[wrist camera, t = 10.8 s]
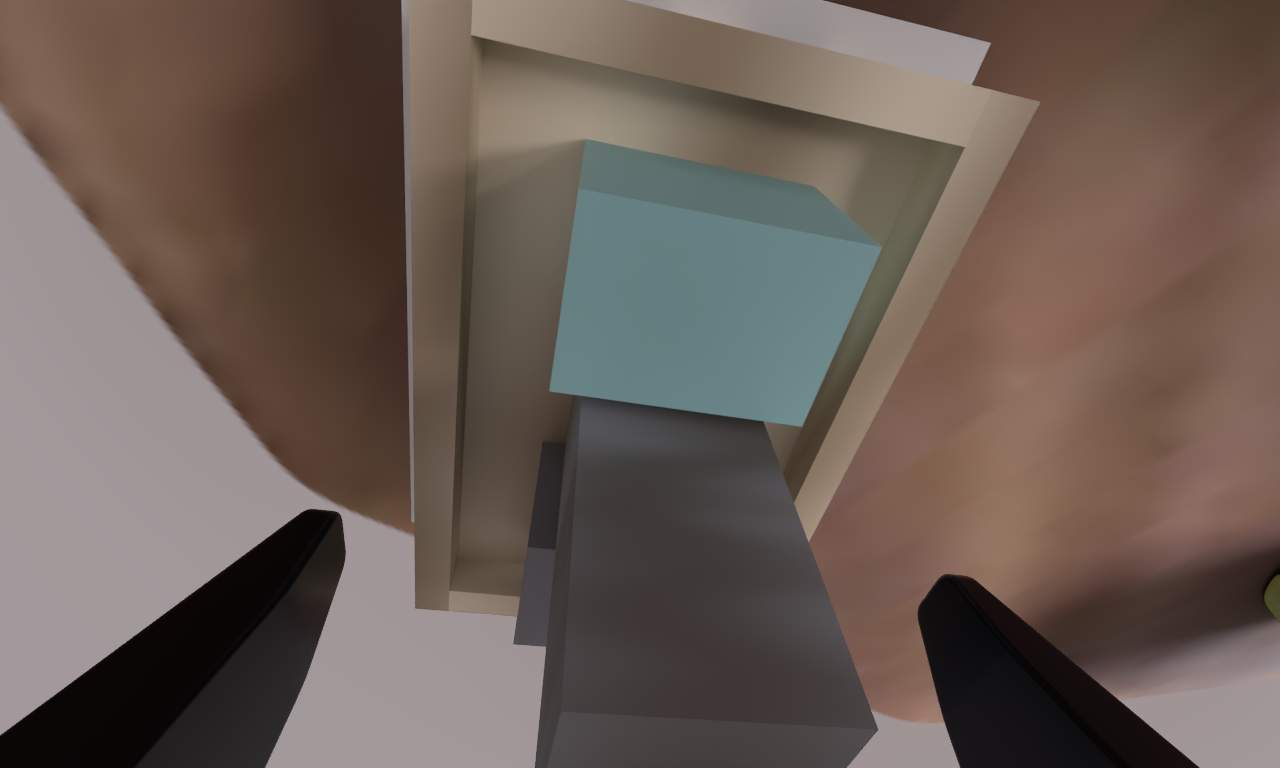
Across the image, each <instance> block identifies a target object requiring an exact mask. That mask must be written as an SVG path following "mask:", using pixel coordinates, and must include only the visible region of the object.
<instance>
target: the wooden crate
mask: <svg viewBox="0 0 1280 768" xmlns="http://www.w3.org/2000/svg"><path fill="white" fill-rule="evenodd" d="M409 63H410V155H411V248H412V340H413V433H414V525H415V608H417V609H430V610H442V611H454V612H468V613H479V614H491V615H503V616H516V617H517V615H518V608H519V601H520V594H521V587H522V580H523V573H524V567H525V560H526V553H527V546H528V539H529V532H530V525H531V518H532V511H533V505H534V498H535V491H536V484H537V477H538V470H539V464H540V457H541V450H542V443H543V441H544V442H552V443H560V444H565V454H564V465H563V475H562V486H561V497H560V507H559V518H558V528H557V539H556V550H555V560H554V571H553V582H552V592H551V603H550V614H549V624H548V635H547V645H546V656H545V667H544V677H543V689H542V699H541V710H540V720H539V731H538V742H537V752H536V762H535V768H847V766H848V765H849V764H850V763H851V762H852V760H853V759H854V758H855V757H856V756H857V754H858V753H859V752H860V751H861V750H862V749H863V747H864V746H865V745H866V744H867V743H868V741H869V740H870V739H871V738H872V737H873V735H874V734H875V733H876V732H877V731H878V728H877V725H876V723H875V720H874V717H873V714H872V712H871V709H870V706H869V704H868V701H867V698H866V695H865V693H864V690H863V687H862V685H861V682H860V679H859V677H858V674H857V671H856V669H855V666H854V663H853V661H852V658H851V655H850V652H849V650H848V647H847V644H846V642H845V639H844V636H843V634H842V631H841V628H840V626H839V623H838V620H837V617H836V615H835V612H834V609H833V607H832V604H831V601H830V599H829V596H828V593H827V591H826V588H825V585H824V583H823V580H822V577H821V574H820V572H819V569H818V566H817V564H816V561H815V558H814V556H813V553H812V550H811V548H810V545H809V541H810V539H811V537H812V535H813V533H814V531H815V529H816V527H817V525H818V524H819V522H820V520H821V518H822V516H823V514H824V512H825V510H826V508H827V506H828V505H829V503H830V501H831V499H832V497H833V495H834V493H835V491H836V489H837V487H838V486H839V484H840V482H841V480H842V478H843V476H844V474H845V472H846V470H847V468H848V467H849V465H850V463H851V461H852V459H853V457H854V455H855V453H856V451H857V449H858V448H859V446H860V444H861V442H862V440H863V438H864V436H865V434H866V432H867V430H868V429H869V427H870V425H871V423H872V421H873V419H874V417H875V415H876V413H877V412H878V410H879V408H880V406H881V404H882V402H883V400H884V398H885V396H886V394H887V393H888V391H889V389H890V387H891V385H892V383H893V381H894V379H895V377H896V375H897V374H898V372H899V370H900V368H901V366H902V364H903V362H904V360H905V358H906V356H907V355H908V353H909V351H910V349H911V347H912V345H913V343H914V341H915V339H916V337H917V336H918V334H919V332H920V330H921V328H922V326H923V324H924V322H925V320H926V318H927V317H928V315H929V313H930V311H931V309H932V307H933V305H934V303H935V301H936V299H937V298H938V296H939V294H940V292H941V290H942V288H943V286H944V284H945V282H946V280H947V279H948V277H949V275H950V273H951V271H952V269H953V267H954V265H955V263H956V261H957V260H958V258H959V256H960V254H961V252H962V250H963V248H964V246H965V244H966V242H967V241H968V239H969V237H970V235H971V233H972V231H973V229H974V227H975V225H976V223H977V222H978V220H979V218H980V216H981V214H982V212H983V210H984V208H985V206H986V205H987V203H988V201H989V199H990V197H991V195H992V193H993V191H994V189H995V187H996V186H997V184H998V182H999V180H1000V178H1001V176H1002V174H1003V172H1004V170H1005V168H1006V167H1007V165H1008V163H1009V161H1010V159H1011V157H1012V155H1013V153H1014V151H1015V149H1016V148H1017V146H1018V144H1019V142H1020V140H1021V138H1022V136H1023V134H1024V132H1025V130H1026V129H1027V127H1028V125H1029V123H1030V121H1031V119H1032V117H1033V115H1034V113H1035V111H1036V110H1037V108H1038V106H1039V104H1040V102H1039V101H1035V100H1031V99H1027V98H1023V97H1019V96H1015V95H1011V94H1007V93H1002V92H998V91H994V90H990V89H986V88H982V87H978V86H974V85H970V84H966V83H962V82H958V81H954V80H949V79H945V78H941V77H937V76H933V75H929V74H925V73H921V72H917V71H913V70H909V69H905V68H900V67H896V66H892V65H888V64H884V63H880V62H876V61H872V60H868V59H864V58H860V57H856V56H852V55H847V54H843V53H839V52H835V51H831V50H827V49H823V48H819V47H815V46H811V45H807V44H803V43H799V42H794V41H790V40H786V39H782V38H778V37H774V36H770V35H766V34H762V33H758V32H754V31H750V30H745V29H741V28H737V27H733V26H729V25H725V24H721V23H717V22H713V21H709V20H705V19H701V18H697V17H692V16H688V15H684V14H680V13H676V12H672V11H668V10H664V9H660V8H656V7H652V6H648V5H644V4H639V3H635V2H631V1H627V0H409ZM586 139H589V140H594V141H599V142H604V143H608V144H613V145H618V146H623V147H628V148H632V149H637V150H642V151H647V152H652V153H657V154H661V155H666V156H671V157H676V158H681V159H686V160H690V161H695V162H700V163H705V164H710V165H714V166H719V167H724V168H729V169H734V170H739V171H743V172H748V173H753V174H758V175H763V176H768V177H772V178H777V179H782V180H787V181H792V182H796V183H801V184H806V185H811V186H814V187H816V188H817V189H818V190H819V191H820V192H821V193H822V194H823V195H825V196H826V197H827V198H828V199H829V200H830V201H831V202H832V203H833V204H835V205H836V206H837V207H838V208H839V209H840V210H841V211H842V212H843V213H845V214H846V215H847V216H848V217H849V218H850V219H851V220H852V221H854V222H855V223H856V224H857V225H858V226H859V227H860V228H861V229H862V230H864V231H865V232H866V233H867V234H868V235H869V236H870V237H871V238H872V239H874V240H875V241H876V242H877V243H878V244H879V245H880V246H881V247H882V249H881V252H880V254H879V256H878V258H877V260H876V263H875V265H874V267H873V269H872V272H871V274H870V276H869V278H868V281H867V283H866V285H865V287H864V289H863V292H862V294H861V296H860V298H859V301H858V303H857V305H856V307H855V310H854V312H853V314H852V316H851V318H850V321H849V323H848V325H847V327H846V330H845V332H844V334H843V336H842V339H841V341H840V343H839V345H838V348H837V350H836V352H835V354H834V356H833V359H832V361H831V363H830V365H829V368H828V370H827V372H826V374H825V377H824V379H823V381H822V383H821V385H820V388H819V390H818V392H817V394H816V397H815V399H814V401H813V403H812V406H811V408H810V410H809V412H808V414H807V417H806V419H805V421H804V423H803V426H802V427H801V426H794V425H786V424H779V423H772V422H765V421H758V420H751V419H744V418H736V417H729V416H722V415H715V414H708V413H701V412H694V411H686V410H679V409H672V408H665V407H658V406H651V405H644V404H636V403H629V402H622V401H615V400H608V399H601V398H594V397H587V396H579V395H572V394H565V393H558V392H551V391H549V389H550V382H551V376H552V369H553V362H554V355H555V348H556V341H557V334H558V327H559V320H560V313H561V306H562V299H563V292H564V285H565V278H566V271H567V265H568V258H569V251H570V244H571V237H572V230H573V223H574V216H575V209H576V202H577V195H578V188H579V182H580V175H581V169H582V162H583V155H584V149H585V142H586Z"/></svg>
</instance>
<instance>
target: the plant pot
mask: <svg viewBox="0 0 1280 768" xmlns="http://www.w3.org/2000/svg"><path fill="white" fill-rule="evenodd" d="M1264 600H1265V604H1266V606H1267V607H1268V608H1269V610H1270V611H1271V612H1272V614H1273V615H1274V616H1275V617H1276V618H1277V619H1278V621H1279V622H1280V574H1278V575H1276V576H1275V577H1274V578H1273V579H1272V581H1271V582H1270V583H1269V585H1268V587H1267V589H1266V591H1265V595H1264Z"/></svg>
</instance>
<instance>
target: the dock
mask: <svg viewBox="0 0 1280 768" xmlns="http://www.w3.org/2000/svg"><path fill="white" fill-rule="evenodd" d="M627 1H631V2H635V3H639V4H644V5H648V6H652V7H656V8H660V9H664V10H668V11H672V12H676V13H680V14H684V15H688V16H692V17H697V18H701V19H705V20H709V21H713V22H717V23H721V24H725V25H729V26H733V27H737V28H741V29H745V30H750V31H754V32H758V33H762V34H766V35H770V36H774V37H778V38H782V39H786V40H790V41H794V42H799V43H803V44H807V45H811V46H815V47H819V48H823V49H827V50H831V51H835V52H839V53H843V54H847V55H852V56H856V57H860V58H864V59H868V60H872V61H876V62H880V63H884V64H888V65H892V66H896V67H900V68H905V69H909V70H913V71H917V72H921V73H925V74H929V75H933V76H937V77H941V78H945V79H949V80H954V81H958V82H962V83H966V84H970V85H972V83H973V81H974V79H975V77H976V75H977V72H978V70H979V68H980V66H981V64H982V61H983V59H984V57H985V55H986V53H987V51H988V48H989V46H990V44H991V43H989V42H985V41H981V40H977V39H973V38H969V37H965V36H961V35H957V34H953V33H949V32H946V31H942V30H938V29H934V28H930V27H926V26H922V25H918V24H914V23H910V22H906V21H902V20H898V19H895V18H891V17H887V16H883V15H879V14H875V13H871V12H867V11H863V10H859V9H855V8H851V7H847V6H844V5H840V4H836V3H832V2H828V1H824V0H627ZM401 4H402V56H403V109H404V161H405V214H406V266H407V319H408V371H409V424H410V476H411V522H413V523H414V433H413V340H412V248H411V155H410V63H409V0H401Z"/></svg>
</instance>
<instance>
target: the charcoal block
mask: <svg viewBox="0 0 1280 768" xmlns="http://www.w3.org/2000/svg"><path fill="white" fill-rule="evenodd" d="M564 454H565V444H560V443H552V442H544V441H543V443H542V450H541V457H540V464H539V470H538V477H537V484H536V491H535V498H534V505H533V511H532V518H531V525H530V532H529V539H528V546H527V553H526V560H525V567H524V573H523V580H522V587H521V594H520V601H519V608H518V615H517V623H516V629H515V636H514V643H513V644H518V645H531V646H545V647H546V645H547V635H548V624H549V614H550V603H551V592H552V582H553V571H554V560H555V550H556V539H557V528H558V518H559V507H560V497H561V486H562V475H563V465H564Z"/></svg>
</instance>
